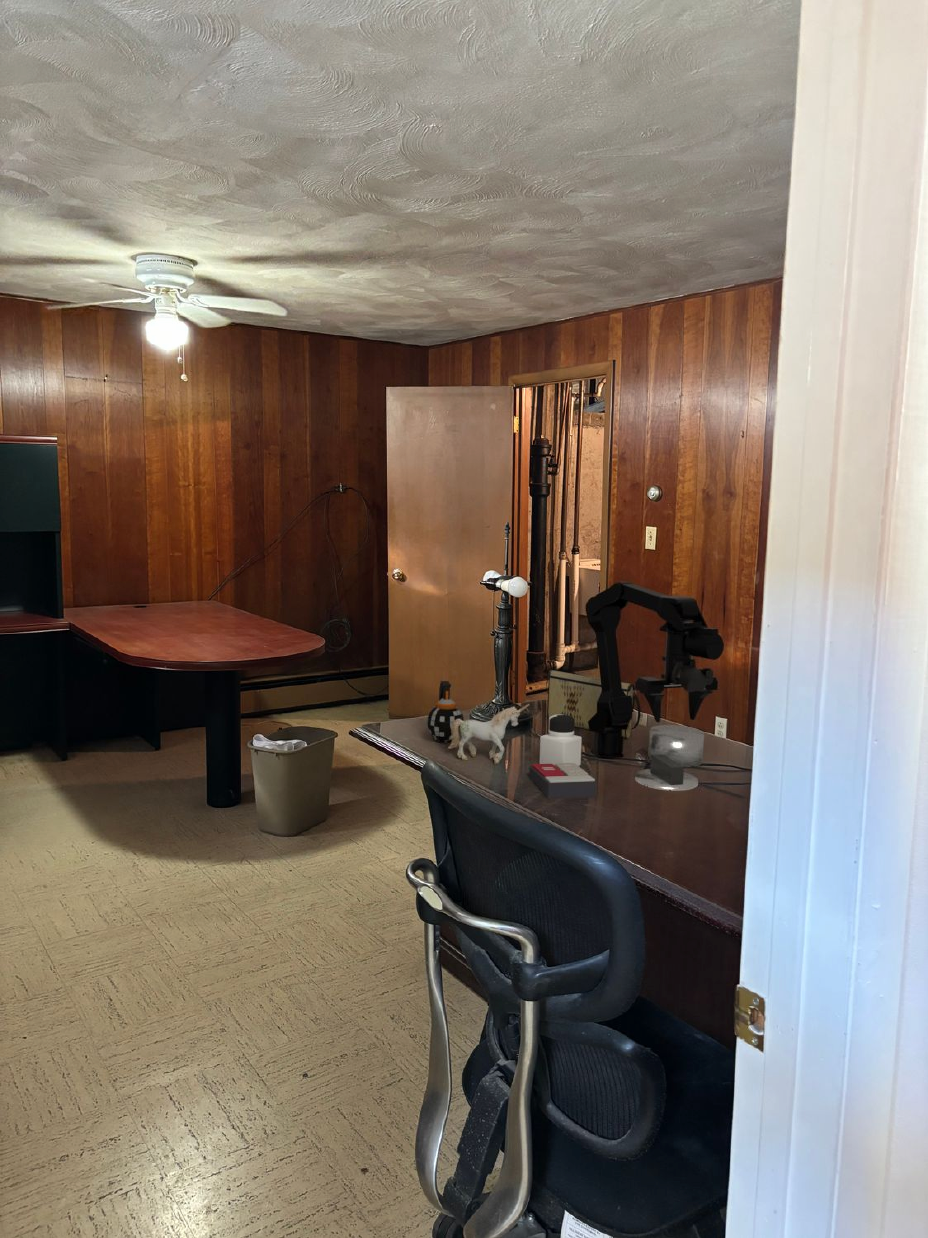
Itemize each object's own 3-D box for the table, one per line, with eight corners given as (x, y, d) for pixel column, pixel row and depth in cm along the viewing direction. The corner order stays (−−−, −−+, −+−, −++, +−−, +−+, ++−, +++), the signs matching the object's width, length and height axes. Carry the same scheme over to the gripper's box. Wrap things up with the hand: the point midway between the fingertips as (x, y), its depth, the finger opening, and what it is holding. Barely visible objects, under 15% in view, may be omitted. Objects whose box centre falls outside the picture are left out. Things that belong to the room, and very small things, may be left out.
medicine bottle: (581, 765, 211) (583, 716, 210) (562, 772, 206) (565, 721, 205) (556, 759, 216) (558, 711, 215) (538, 765, 211) (540, 715, 209)
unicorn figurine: (529, 766, 210) (531, 710, 208) (446, 763, 210) (448, 708, 208) (527, 757, 217) (529, 703, 215) (447, 755, 217) (449, 701, 215)
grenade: (423, 734, 235) (425, 679, 233) (459, 734, 237) (460, 678, 235) (429, 746, 224) (430, 688, 222) (466, 745, 226) (468, 687, 224)
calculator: (575, 761, 204) (598, 778, 189) (575, 779, 204) (597, 798, 189) (529, 762, 201) (548, 779, 187) (528, 781, 202) (547, 800, 187)
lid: (709, 790, 197) (711, 768, 196) (651, 794, 193) (652, 771, 193) (679, 771, 210) (680, 750, 210) (624, 774, 207) (625, 753, 206)
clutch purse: (644, 736, 240) (647, 681, 238) (631, 741, 235) (634, 685, 233) (553, 717, 259) (555, 666, 257) (539, 721, 254) (541, 669, 252)
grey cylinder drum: (662, 768, 211) (664, 739, 210) (639, 753, 223) (640, 726, 222) (712, 766, 214) (714, 737, 213) (686, 751, 226) (687, 724, 225)
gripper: (663, 660, 190) (659, 732, 191) (735, 657, 196) (731, 726, 198) (635, 652, 200) (632, 720, 202) (705, 649, 206) (701, 715, 208)
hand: (675, 721), depth 202 cm, fingers open, 9 cm apart
